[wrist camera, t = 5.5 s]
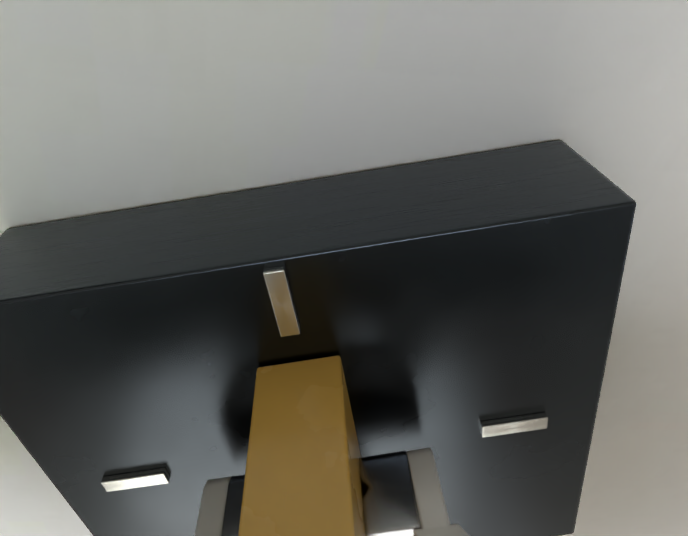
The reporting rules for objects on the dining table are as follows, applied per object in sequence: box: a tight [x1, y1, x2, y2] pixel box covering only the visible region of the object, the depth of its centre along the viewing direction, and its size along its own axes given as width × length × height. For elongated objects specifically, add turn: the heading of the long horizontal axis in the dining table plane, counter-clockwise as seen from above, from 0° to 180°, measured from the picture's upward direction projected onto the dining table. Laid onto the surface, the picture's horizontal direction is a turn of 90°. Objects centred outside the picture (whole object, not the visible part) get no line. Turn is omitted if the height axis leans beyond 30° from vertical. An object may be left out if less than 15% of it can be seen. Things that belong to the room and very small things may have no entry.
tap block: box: [0, 140, 636, 536], centre depth 12 cm, size 12×10×3 cm
